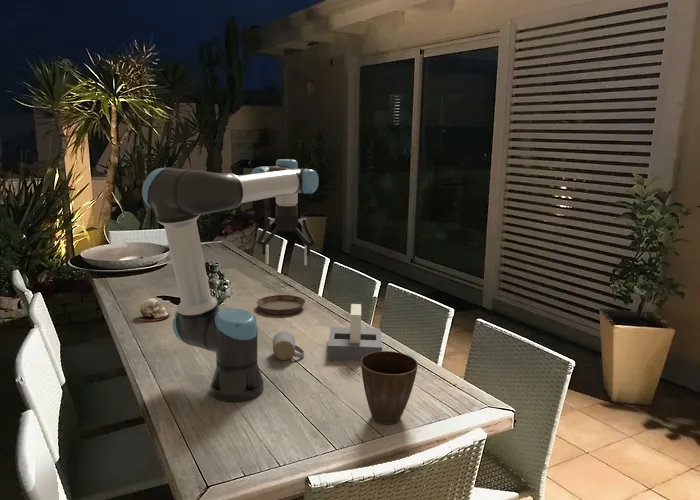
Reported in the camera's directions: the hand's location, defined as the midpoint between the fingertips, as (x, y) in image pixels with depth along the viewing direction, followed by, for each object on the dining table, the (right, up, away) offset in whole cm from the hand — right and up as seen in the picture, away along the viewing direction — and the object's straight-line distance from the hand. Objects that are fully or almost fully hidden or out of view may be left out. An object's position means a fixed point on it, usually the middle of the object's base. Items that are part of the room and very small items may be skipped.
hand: (286, 264), depth 196 cm
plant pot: (+32, -40, -48) cm, 70 cm away
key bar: (+24, -25, -4) cm, 35 cm away
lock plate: (+24, -30, -3) cm, 39 cm away
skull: (-56, -22, +25) cm, 65 cm away
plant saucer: (-7, -20, +41) cm, 46 cm away
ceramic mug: (+2, -31, -9) cm, 33 cm away
